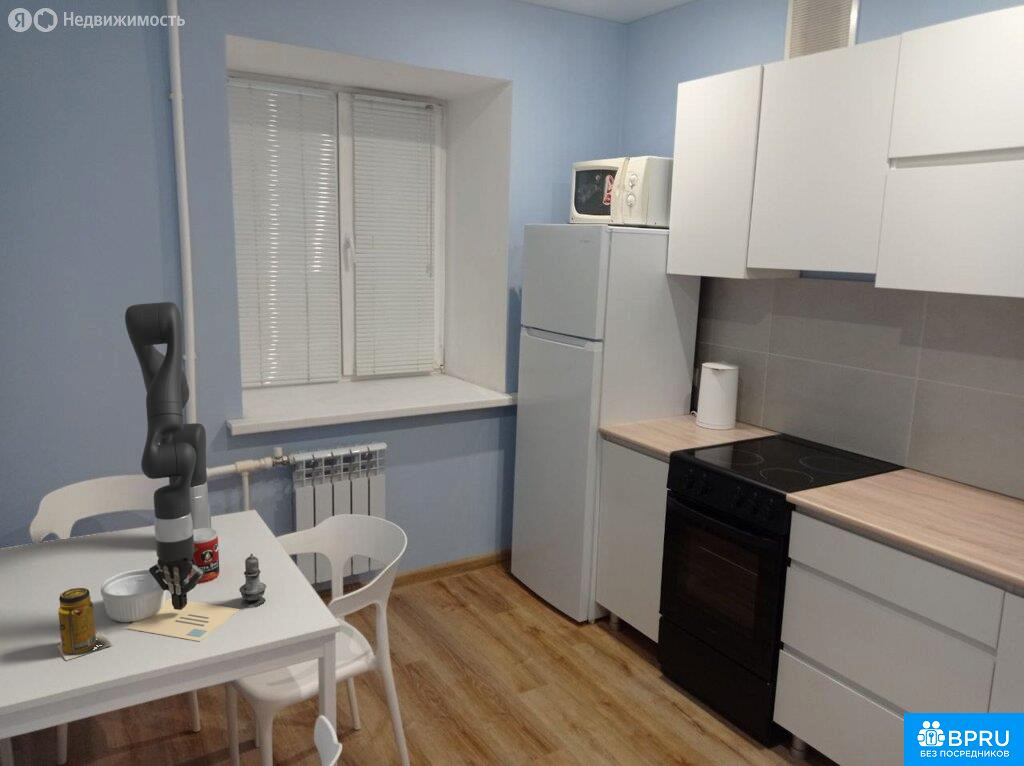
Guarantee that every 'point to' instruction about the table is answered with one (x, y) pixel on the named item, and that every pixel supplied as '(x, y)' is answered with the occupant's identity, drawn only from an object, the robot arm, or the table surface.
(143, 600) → the ramekin
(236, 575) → the table surface
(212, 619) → the letter
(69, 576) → the table surface
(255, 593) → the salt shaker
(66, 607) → the condiment
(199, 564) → the canned food
